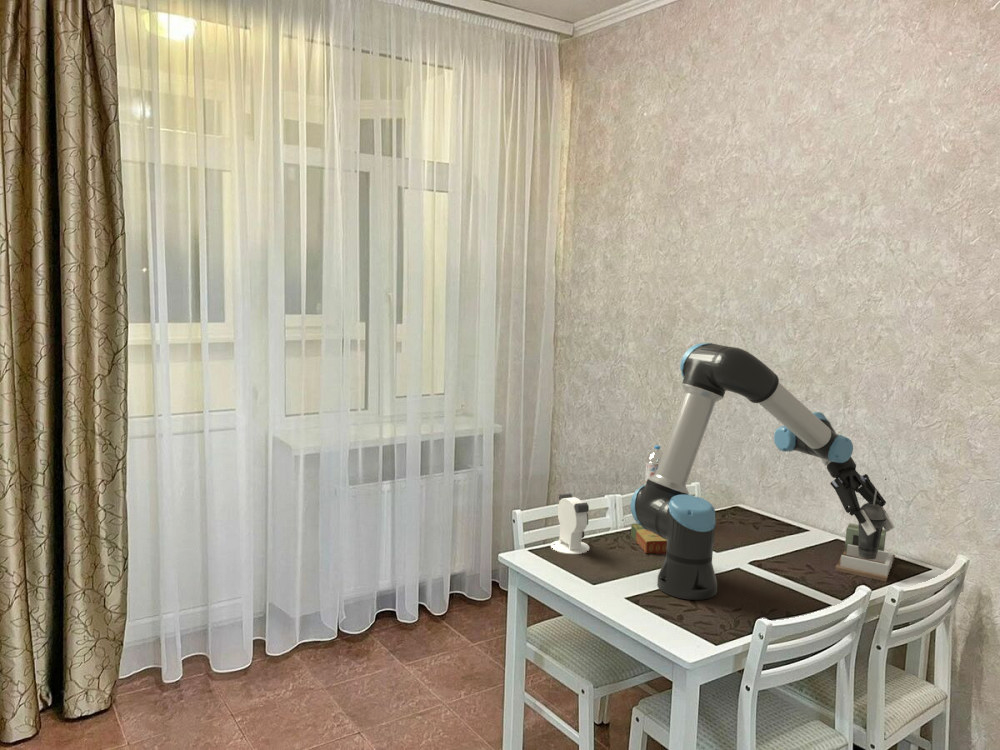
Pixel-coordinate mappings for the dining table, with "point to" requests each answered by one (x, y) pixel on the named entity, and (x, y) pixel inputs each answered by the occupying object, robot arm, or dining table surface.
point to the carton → (648, 540)
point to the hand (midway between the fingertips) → (881, 531)
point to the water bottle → (652, 462)
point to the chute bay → (865, 564)
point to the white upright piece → (571, 525)
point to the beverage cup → (871, 542)
